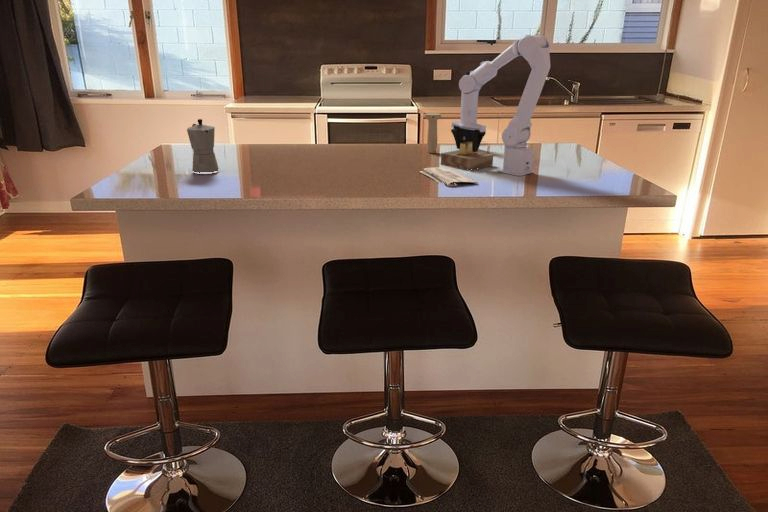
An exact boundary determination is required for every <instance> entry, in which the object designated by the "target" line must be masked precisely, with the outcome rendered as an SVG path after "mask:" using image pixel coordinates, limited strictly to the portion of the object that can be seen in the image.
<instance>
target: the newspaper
mask: <svg viewBox="0 0 768 512" xmlns="http://www.w3.org/2000/svg"><path fill="white" fill-rule="evenodd" d="M419 172H420V173H421V174H423V175H425V176H427V177H429V178H430V179H432V180H434V181H435V182H437V183H438V182H439V183H442V182H443V183H444V184H446V185H447V187H458V186H457V185H455V184H454V183H473V184H475V183H478V184H479V182H477V181H475V180H473V179H472V178H469V177H467V176H466V175H464V174H462V173H460V172H458V171H456V170H454V169H452V168H450V167H426V168H423V171H422V170H421V171H420V170H419ZM431 175H432V176H431ZM434 177H435V178H434ZM436 178H437V179H436ZM452 182H454V183H452ZM439 183H438V184H439ZM443 183H442V184H441V185H443ZM478 184H477V185H478ZM446 185H445V186H446Z"/></svg>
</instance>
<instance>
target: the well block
mask: <svg viewBox="0 0 768 512" xmlns="http://www.w3.org/2000/svg"><path fill="white" fill-rule="evenodd" d="M493 163H494V154H492V153H486V152H482V151H477V152H474V155H469V156H462V155H460V149H456V150H452V151H446V152H441V153H440V165H442V166H447V167H451V168H455V167H457V168H456V169H460V168H462V169H461V170H464V169H468V170H471V169H476V170H478V169H477V168H480V169H483V168H482V167H485V168H488V167H487V166H490V167H492V166H491V165H493ZM468 170H467V171H468ZM471 171H472V170H471Z"/></svg>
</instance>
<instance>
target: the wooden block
mask: <svg viewBox="0 0 768 512" xmlns="http://www.w3.org/2000/svg"><path fill="white" fill-rule="evenodd" d="M459 150H460V155H462V156H469V155H474V152H473V151H472V142H464V143H460V149H459Z"/></svg>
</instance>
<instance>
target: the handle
mask: <svg viewBox="0 0 768 512" xmlns="http://www.w3.org/2000/svg"><path fill="white" fill-rule="evenodd" d="M424 118H425V119H426V120H427V123H428V126H427V135H426V136H427V137H426V138H427V139H426V141H427V142H426V143H427V144H426V146H427V153H428V154H436V152H437V149H438V147H437V146H438V120H440V119H441V118H442V113H439V112H437V113H436V112H432V113H431V112H429V113H424Z"/></svg>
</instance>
